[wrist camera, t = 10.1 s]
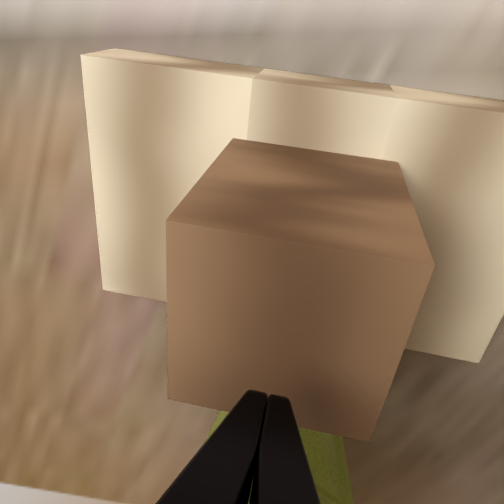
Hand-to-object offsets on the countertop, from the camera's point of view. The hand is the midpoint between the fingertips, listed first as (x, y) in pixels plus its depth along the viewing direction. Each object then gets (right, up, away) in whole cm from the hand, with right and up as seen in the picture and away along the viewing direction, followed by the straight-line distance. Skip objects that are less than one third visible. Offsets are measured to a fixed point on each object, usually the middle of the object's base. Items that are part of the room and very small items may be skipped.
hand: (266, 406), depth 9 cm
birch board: (+2, +5, +9) cm, 11 cm away
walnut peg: (+2, +5, +9) cm, 11 cm away
